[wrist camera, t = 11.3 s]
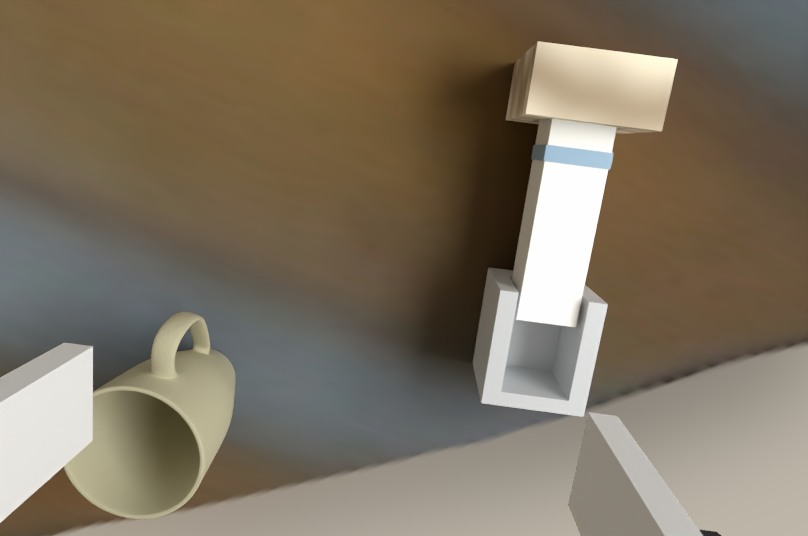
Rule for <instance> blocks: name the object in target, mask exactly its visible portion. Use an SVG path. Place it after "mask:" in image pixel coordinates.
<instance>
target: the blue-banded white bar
mask: <svg viewBox="0 0 808 536" xmlns="http://www.w3.org/2000/svg"><path fill="white" fill-rule="evenodd" d="M616 129H617V127H612V126H605V125H597V124H589V123H581V122H574V121H566V120H558V119H550V118H542V119H540V120H539V126H538V132H537V137H536V143H535V145H533V150H532V156H531V159H533V160H532V166H531V172H530V177H529V183H528V189H527V195H526V200H525V206H524V212H523V218H522V223H521V229H520V235H519V241H518V246H517V252H516V258H515V263H514V269H513V275H512V283H513V284H514V286H515V287H516V289H517V291H518V292H519V295H518V300H517V306H516V312H515V318H516V320H523V321H531V322H538V323H546V324H553V325H561V326H568V327H576V324H577V319H578V315H579V310H580V305H581V300H582V295H583V290H584V285H585V280H586V275H587V271H588V266H589V261H590V256H591V251H592V246H593V241H594V236H595V231H596V227H597V222H598V217H599V212H600V207H601V202H602V197H603V192H604V187H605V183H606V178H607V173H608V169H611V164H612V159H613V154H614V153H612V148H613V143H614V138H615V134H616Z"/></svg>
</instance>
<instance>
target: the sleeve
mask: <svg viewBox="0 0 808 536" xmlns="http://www.w3.org/2000/svg"><path fill="white" fill-rule="evenodd" d="M512 275H513V270H506V269H498V268H491V267H488V272H487V278H486V284H485V290H484V296H483V302H482V309H481V315H480V321H479V327H478V333H477V339H476V345H475V351H474V357H473V363H472V364H473V368H474V373H475V377H476V382H477V386H478V391H479V395H480V400H481V403H484V404H492V405H499V406H507V407H514V408H522V409H529V410H537V411H544V412H552V413H559V414H567V415H574V416H582V417H584V413H585V408H586V403H587V399H588V394H589V389H590V385H591V380H592V375H593V371H594V366H595V362H596V357H597V352H598V348H599V343H600V338H601V334H602V329H603V324H604V320H605V315H606V310H607V306H608V304H607V303H606V302H605V301H603V300H602V299H601V298H600V297H599V296H598V295H596V294H595V293H594V292H593V291H592V290H591V289H589V288H588V287H587V286H586V285H584V290H583V295H582V300H581V305H580V310H579V315H578V319H577V324H576V327H568V326H561V325H553V324H546V323H538V322H531V321H523V320H516V318H515V312H516V306H517V300H518V295H519V292H518V291H517V289H516V287H515V286H514V284H513V283H512Z"/></svg>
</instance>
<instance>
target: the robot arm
mask: <svg viewBox="0 0 808 536" xmlns="http://www.w3.org/2000/svg"><path fill="white" fill-rule="evenodd" d="M92 441H93V346H86V345H79V344H71V343H63V344H61V345H59V346H57V347H55V348H53V349H52V350H50V351H48V352H46V353H44V354H42V355H41V356H39V357H37V358H35V359H33V360H31V361H30V362H28V363H26V364H24V365H22V366H20V367H19V368H17V369H15V370H13V371H11V372H9V373H8V374H6V375H4V376H2V377H0V523H1V522H2V521H3V520H4V519H5V518H6V517H7V516H8V515H10V514H11V513H12V512H13V511H14V510H15V509H16V508H17V507H19V506H20V505H21V504H22V503H23V502H24V501H25V500H26V499H28V498H29V497H30V496H31V495H32V494H33V493H34V492H35V491H37V490H38V489H39V488H40V487H41V486H42V485H43V484H44V483H46V482H47V481H48V480H49V479H50V478H51V477H52V476H53V475H55V474H56V473H57V472H58V471H59V470H60V469H61V468H62V467H64V466H65V465H66V464H67V463H68V462H69V461H70V460H71V459H73V458H74V457H75V456H76V455H77V454H78V453H79V452H80V451H82V450H83V449H84V448H85V447H86V446H87V445H88V444H89V443H91V442H92ZM568 505H569V507H570V510H571V512H572V515H573V517H574V519H575V522H576V525H577V527H578V530H579V532H580V534H581V536H721V535H719V534H718V533H717V532H712V531H705V530H699V529H698V528H697V526H696V525H695V524H694V522H693V521H692V519H691V518H690V517H689V515H688V514H687V512H686V511H685V510H684V508H683V507H682V505H681V504H680V503H679V501H678V500H677V498H676V497H675V496H674V494H673V493H672V492H671V490H670V489H669V487H668V486H667V484H666V483H665V482H664V480H663V479H662V477H661V476H660V475H659V473H658V472H657V471H656V469H655V468H654V466H653V465H652V463H651V462H650V461H649V459H648V458H647V457H646V455H645V454H644V452H643V451H642V450H641V448H640V447H639V445H638V444H637V443H636V441H635V440H634V438H633V437H632V436H631V434H630V433H629V432H628V430H627V429H626V427H625V426H624V424H623V423H622V422H621V420H620V419H619V417H617V416H612V415H605V414H597V413H590V412H588V417H587V421H586V426H585V431H584V435H583V440H582V445H581V450H580V454H579V458H578V463H577V468H576V472H575V477H574V481H573V486H572V491H571V495H570V500H569V504H568Z"/></svg>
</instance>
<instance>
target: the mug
mask: <svg viewBox="0 0 808 536" xmlns="http://www.w3.org/2000/svg"><path fill="white" fill-rule="evenodd" d="M189 328H190V331H191V334H192V338H193V349H191V350H184V351H178V352H176V351H177V348H178V345H179V343H180V341H181V339H182V337H183V336H184V334H185V333H186V331H187V330H188V329H189ZM234 392H235V371H234V368H233V366H232V364H231V362H230V361H229V360H228V359H227V357H225V356H224V355H223V354H222V353H220V352H218V351H216V350H213V349H210V339H209V334H208V329H207V325H206V323H205V321H204V319H203V318H202V317H201V316H199V315H197V314H194V313H191V312H179V313H177V314H175V315H173V316H172V317H170V318H169V319H168V320H167V321H166V322H165V323H164V324H163V325H162V327H161V328H160V329H159V331H158V333H157V335H156V337H155V339H154V342H153V346H152V351H151V359H149V360H146V361H144V362H142V363H140V364H138V365H136V366H135V367H133V368H131V369H129V370H128V371H126V372H124V373H123V374H121V375H119V376H118V377H116V378H114V379H113V380H111V381H110V382H108V383H106V384H105V385H103V386H101V387H100V388H98V389H96V390H95V391H93V441H92V442H91V443H89V444H88V445H87V446H86V447H85V448H84V449H83V450H82V451H80V452H79V453H78V454H77V455H76V456H75V457H74V458H73V459H71V460H70V461H69V462H68V463H67V464H66V465H65V466H64V469H65V472H66V474H67V476H68V477H69V479H70V481H71V482H72V484H73V485H74V486H75V488H76V489H77V490H78V491H79V492H80V493H81V494H82V495H83V496H84V497H85V498H86V499H87V500H89V501H90V502H91V503H93V504H94V505H96V506H97V507H99V508H101V509H103V510H105V511H107V512H109V513H112V514H114V515H118V516H122V517H126V518H133V519H149V518H155V517H160V516H163V515H166V514H168V513H171V512H173V511H175V510H177V509H178V508H180V507H181V506H182V505H184V504H185V503H186V502H187V501H188V500H189V499H190V498H191V497H192V496H193V494H194V493H195V491H196V490H197V488H198V487H199V485H200V483H201V481H202V479H203V477H204V475H205V474H206V472H207V470H208V468H209V466H210V464H211V462H212V460H213V459H214V457H215V455H216V453H217V451H218V449H219V447H220V446H221V443H222V441H223V439H224V437H225V435H226V433H227V430H228V427H229V424H230V421H231V417H232V412H233V405H234Z"/></svg>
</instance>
